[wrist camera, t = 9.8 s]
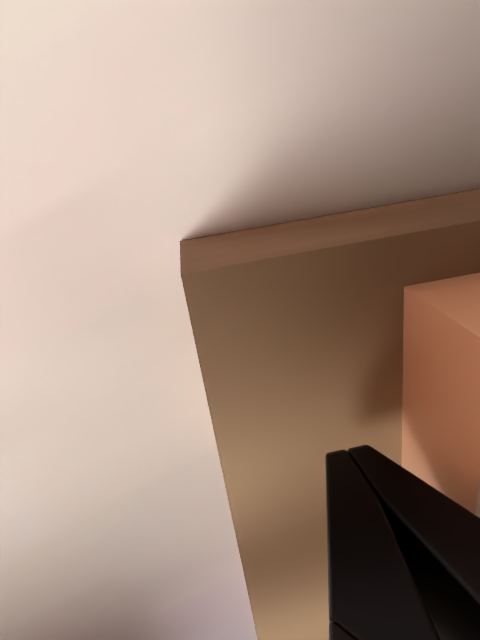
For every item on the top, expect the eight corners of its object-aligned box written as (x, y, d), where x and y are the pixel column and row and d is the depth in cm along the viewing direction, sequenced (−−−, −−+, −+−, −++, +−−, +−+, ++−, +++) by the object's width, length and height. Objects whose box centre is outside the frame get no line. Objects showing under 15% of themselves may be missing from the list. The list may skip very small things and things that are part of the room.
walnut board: (563, 585, 17) (622, 655, 15) (265, 656, 16) (279, 741, 14) (672, 155, 10) (810, 161, 8) (180, 241, 10) (180, 274, 7)
